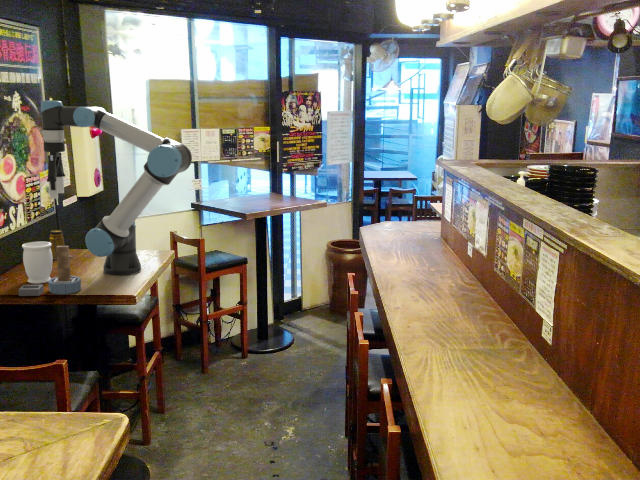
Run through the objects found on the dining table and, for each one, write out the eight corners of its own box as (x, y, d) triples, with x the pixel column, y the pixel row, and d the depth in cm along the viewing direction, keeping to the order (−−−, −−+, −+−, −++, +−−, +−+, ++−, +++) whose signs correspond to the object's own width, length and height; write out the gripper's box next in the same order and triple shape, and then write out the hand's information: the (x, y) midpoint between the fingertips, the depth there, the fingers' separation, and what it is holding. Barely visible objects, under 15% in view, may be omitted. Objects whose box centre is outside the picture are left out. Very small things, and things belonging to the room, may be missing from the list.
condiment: (48, 256, 275) (46, 230, 272) (67, 254, 280) (66, 228, 277) (52, 259, 269) (50, 233, 267) (72, 257, 274) (70, 231, 272)
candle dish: (83, 285, 234) (83, 275, 233) (77, 294, 224) (76, 284, 223) (53, 286, 232) (53, 276, 231) (45, 294, 222) (45, 284, 221)
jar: (42, 286, 232) (39, 248, 229) (18, 283, 234) (15, 245, 231) (59, 278, 242) (57, 242, 239) (36, 276, 244) (34, 240, 241)
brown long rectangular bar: (71, 286, 229) (68, 245, 225) (70, 288, 227) (67, 247, 224) (60, 286, 228) (57, 245, 225) (58, 288, 226) (56, 247, 223)
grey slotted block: (43, 290, 226) (43, 284, 225) (39, 295, 221) (39, 289, 220) (23, 291, 225) (23, 284, 224) (19, 296, 219) (18, 289, 219)
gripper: (49, 139, 244) (53, 191, 249) (36, 143, 221) (40, 200, 225) (69, 139, 246) (72, 191, 251) (58, 143, 222) (62, 200, 227)
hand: (57, 195), depth 238 cm, fingers open, 13 cm apart
